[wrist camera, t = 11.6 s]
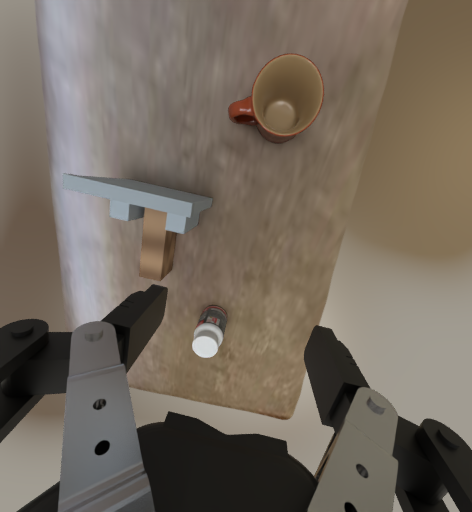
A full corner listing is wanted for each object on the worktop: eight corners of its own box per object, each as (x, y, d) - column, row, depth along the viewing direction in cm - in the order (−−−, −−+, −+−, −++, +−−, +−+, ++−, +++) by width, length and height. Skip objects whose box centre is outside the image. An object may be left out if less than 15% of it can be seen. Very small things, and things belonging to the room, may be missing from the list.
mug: (304, 85, 35) (323, 46, 26) (306, 145, 38) (324, 130, 28) (230, 98, 37) (221, 65, 27) (236, 155, 39) (230, 144, 29)
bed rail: (159, 198, 42) (144, 199, 37) (180, 202, 42) (169, 205, 36) (153, 265, 47) (138, 276, 41) (172, 269, 47) (160, 281, 41)
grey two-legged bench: (129, 178, 42) (62, 173, 27) (214, 198, 41) (192, 203, 27) (127, 208, 43) (63, 218, 29) (208, 227, 43) (185, 247, 29)
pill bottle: (204, 302, 48) (192, 330, 39) (229, 308, 48) (223, 337, 39) (200, 324, 50) (187, 356, 40) (224, 329, 50) (217, 363, 40)
